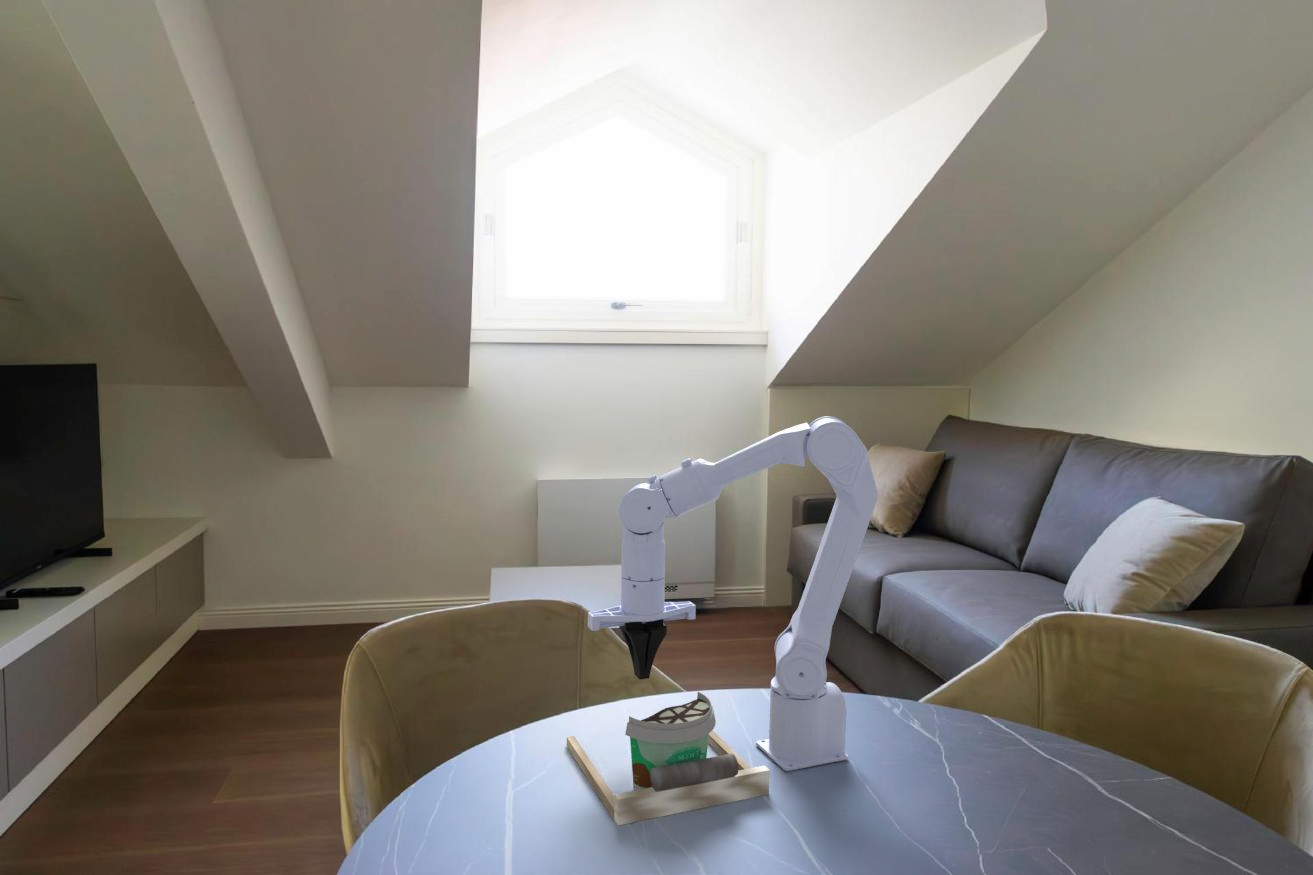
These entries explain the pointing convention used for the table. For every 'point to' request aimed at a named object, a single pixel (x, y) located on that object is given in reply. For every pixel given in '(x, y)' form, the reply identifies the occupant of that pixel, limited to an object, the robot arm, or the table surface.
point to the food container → (669, 738)
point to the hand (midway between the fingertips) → (641, 676)
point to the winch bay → (680, 784)
